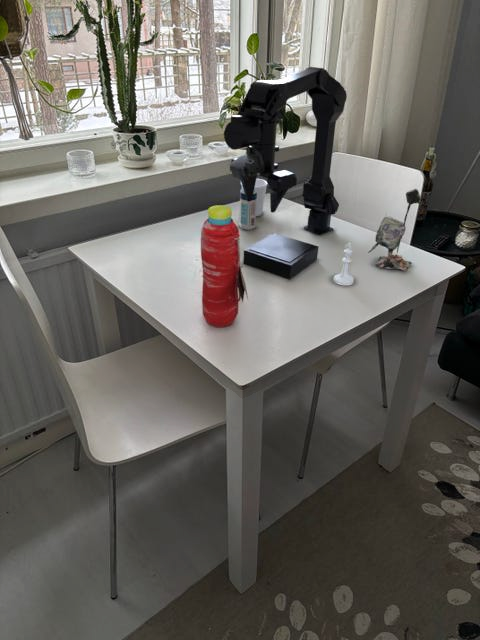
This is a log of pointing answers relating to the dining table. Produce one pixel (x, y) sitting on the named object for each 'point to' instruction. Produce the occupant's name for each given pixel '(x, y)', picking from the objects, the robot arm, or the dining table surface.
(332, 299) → the dining table surface
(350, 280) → the chess piece
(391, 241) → the grey mottled stone figure
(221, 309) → the water bottle
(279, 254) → the stand
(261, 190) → the dixie cup
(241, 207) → the white supplement bottle
